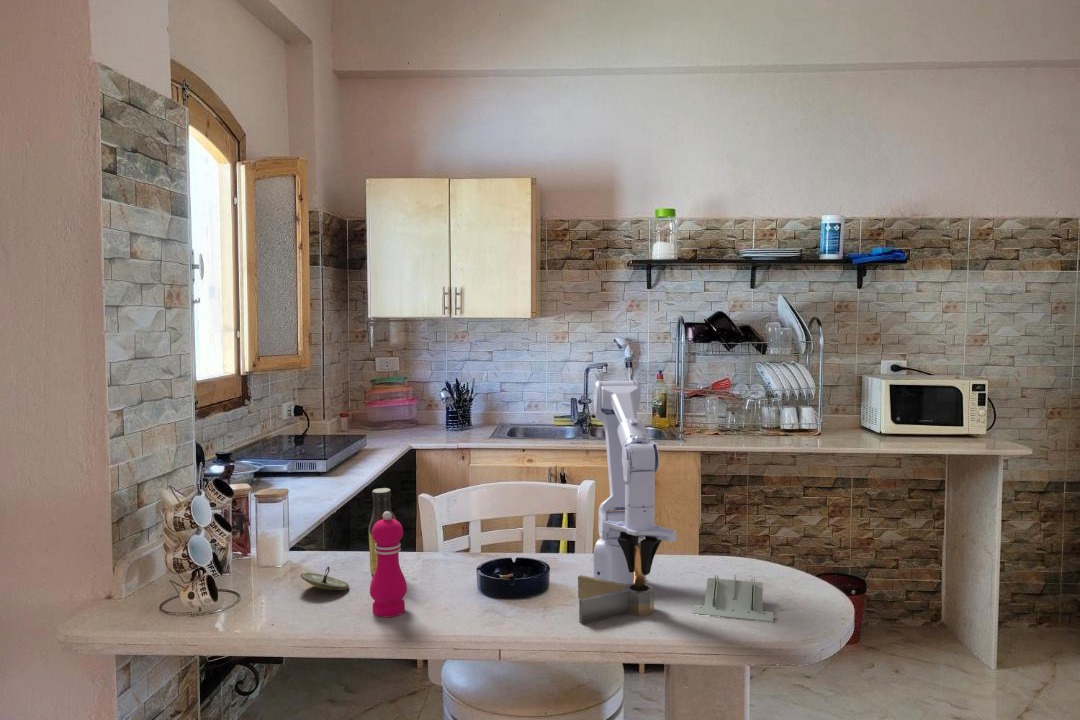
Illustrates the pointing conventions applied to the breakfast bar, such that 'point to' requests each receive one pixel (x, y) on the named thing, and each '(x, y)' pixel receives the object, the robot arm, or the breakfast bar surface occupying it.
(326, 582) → the lid
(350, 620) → the breakfast bar surface
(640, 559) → the hinge pin
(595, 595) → the hinge
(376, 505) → the sauce bottle
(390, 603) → the pepper mill
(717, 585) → the metal bracket
